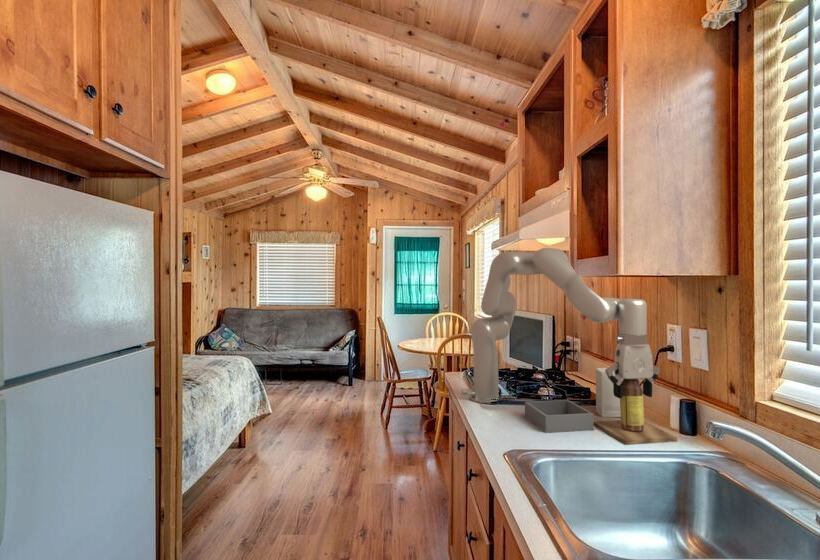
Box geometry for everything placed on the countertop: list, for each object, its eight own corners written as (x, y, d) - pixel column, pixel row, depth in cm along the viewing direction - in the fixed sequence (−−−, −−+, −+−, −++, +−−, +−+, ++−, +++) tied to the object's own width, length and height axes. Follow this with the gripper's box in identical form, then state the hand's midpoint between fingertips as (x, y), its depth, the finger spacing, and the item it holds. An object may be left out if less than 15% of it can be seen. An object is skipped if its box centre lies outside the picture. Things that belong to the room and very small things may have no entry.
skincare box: (619, 412, 148) (619, 367, 148) (627, 418, 142) (627, 371, 142) (594, 411, 149) (594, 367, 149) (601, 417, 143) (601, 371, 143)
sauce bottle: (648, 430, 127) (648, 363, 127) (636, 434, 124) (636, 366, 124) (627, 423, 133) (626, 360, 133) (615, 427, 129) (615, 362, 129)
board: (625, 444, 119) (625, 440, 119) (593, 425, 135) (593, 421, 135) (677, 441, 121) (677, 437, 121) (639, 422, 137) (639, 419, 137)
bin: (545, 432, 129) (545, 416, 129) (524, 416, 144) (524, 401, 144) (593, 430, 131) (593, 413, 131) (567, 414, 146) (567, 399, 146)
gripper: (613, 342, 123) (614, 401, 123) (667, 340, 126) (668, 398, 126) (598, 338, 131) (599, 394, 131) (649, 337, 133) (650, 392, 133)
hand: (632, 396), depth 128 cm, fingers open, 9 cm apart
